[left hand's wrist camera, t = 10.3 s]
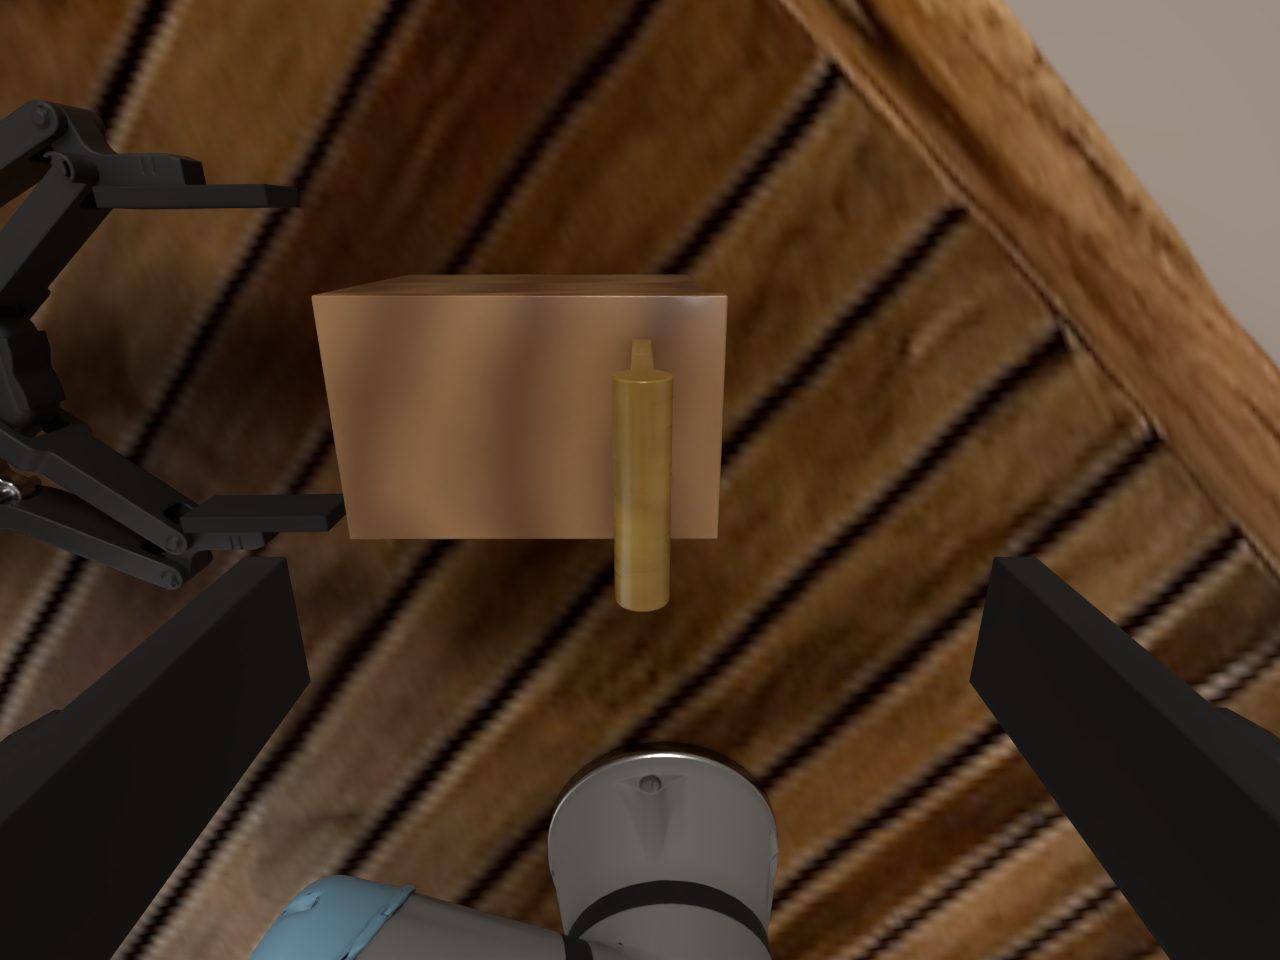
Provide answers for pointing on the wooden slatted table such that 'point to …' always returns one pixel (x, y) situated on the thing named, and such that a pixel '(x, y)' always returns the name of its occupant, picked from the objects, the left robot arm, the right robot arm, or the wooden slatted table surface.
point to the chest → (530, 284)
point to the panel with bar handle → (531, 419)
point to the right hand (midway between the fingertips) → (314, 366)
